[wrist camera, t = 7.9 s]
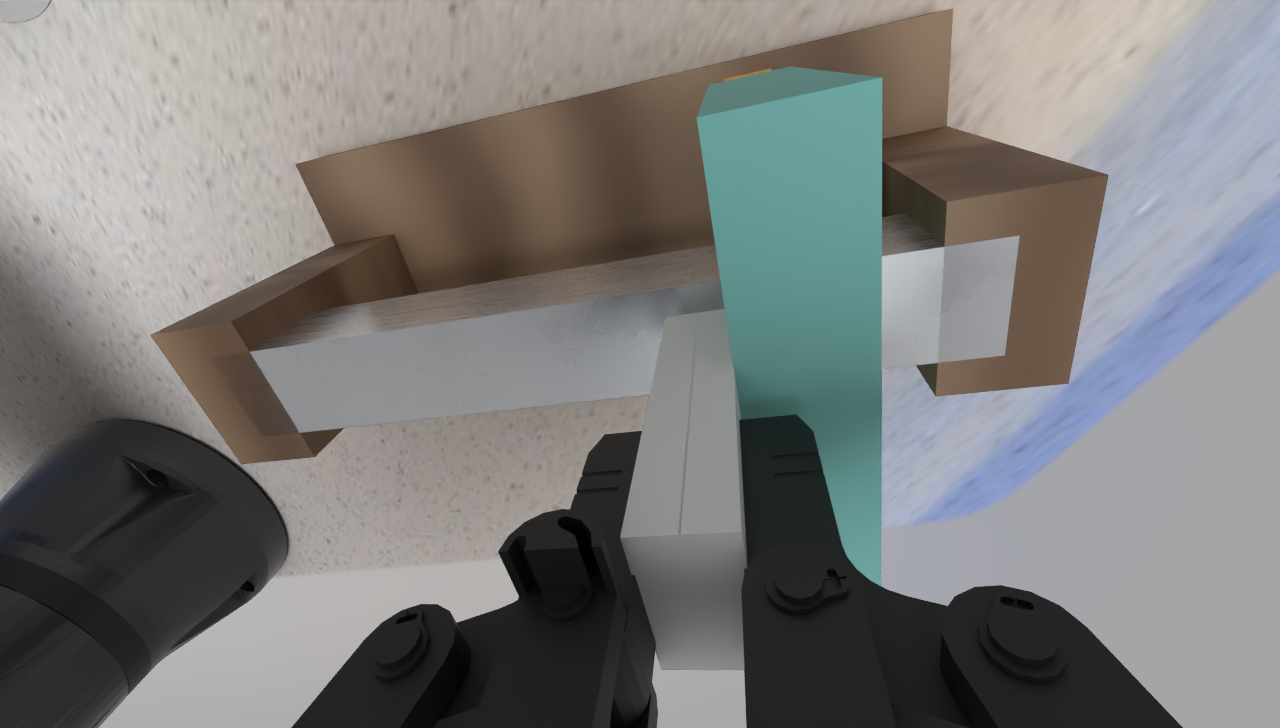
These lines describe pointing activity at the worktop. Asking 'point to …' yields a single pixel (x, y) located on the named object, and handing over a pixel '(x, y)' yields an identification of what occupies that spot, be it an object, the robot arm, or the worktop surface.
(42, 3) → the cylindrical container
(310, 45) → the worktop surface
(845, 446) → the teal square ring
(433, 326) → the grey square bar
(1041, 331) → the stand
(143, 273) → the worktop surface
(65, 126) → the worktop surface
